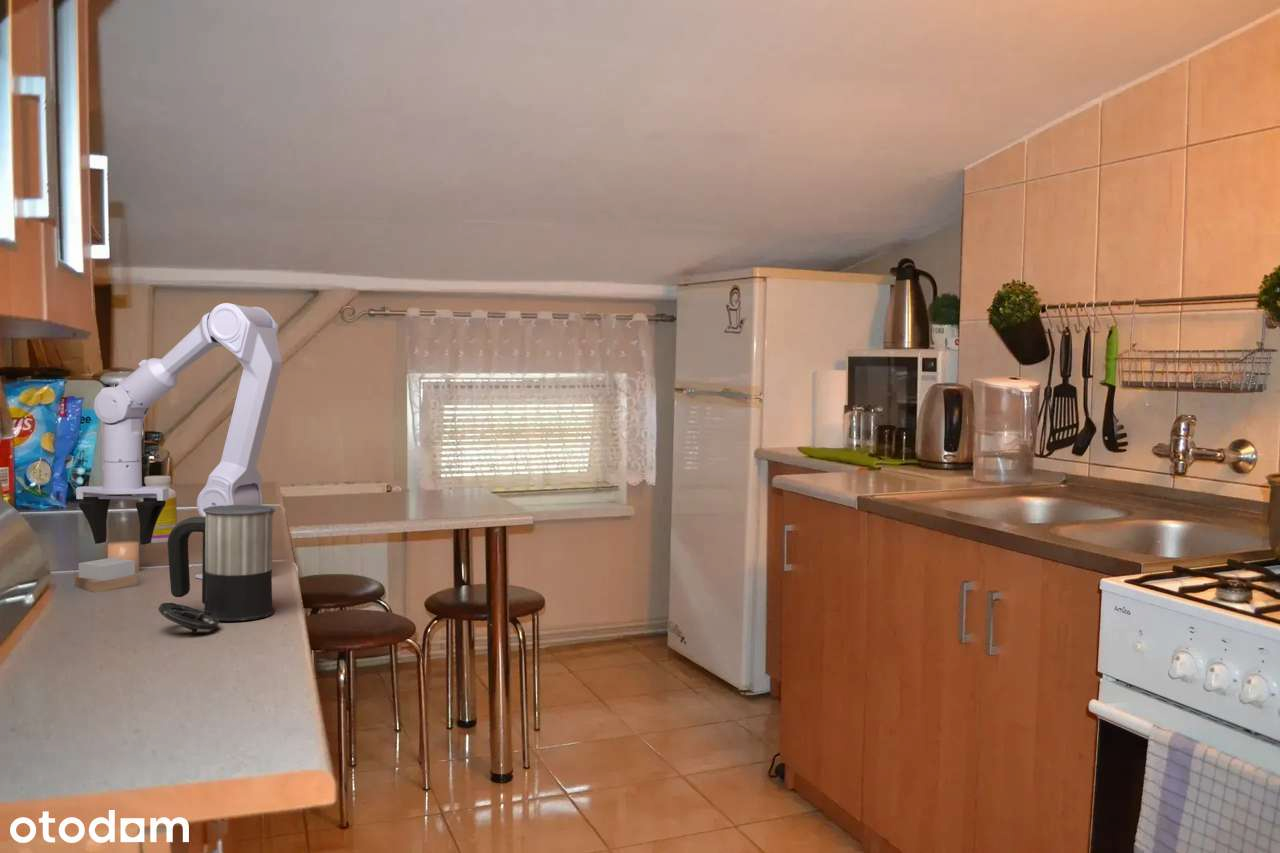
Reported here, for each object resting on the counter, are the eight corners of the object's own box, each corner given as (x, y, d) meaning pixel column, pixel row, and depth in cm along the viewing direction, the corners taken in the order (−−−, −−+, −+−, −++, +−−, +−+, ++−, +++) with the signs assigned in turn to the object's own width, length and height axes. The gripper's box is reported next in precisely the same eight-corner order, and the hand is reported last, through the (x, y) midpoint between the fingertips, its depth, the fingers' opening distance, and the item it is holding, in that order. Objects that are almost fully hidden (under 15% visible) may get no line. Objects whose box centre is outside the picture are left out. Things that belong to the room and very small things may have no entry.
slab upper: (134, 574, 160) (134, 560, 159) (102, 581, 155) (102, 566, 155) (111, 571, 162) (111, 557, 162) (78, 577, 157) (78, 563, 157)
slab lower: (137, 589, 159) (137, 575, 159) (94, 596, 154) (94, 582, 154) (117, 584, 163) (117, 570, 163) (74, 591, 158) (74, 576, 158)
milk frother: (274, 605, 147) (274, 502, 146) (277, 631, 132) (277, 516, 131) (165, 612, 142) (164, 505, 141) (156, 640, 127) (154, 520, 126)
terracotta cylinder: (144, 573, 170) (144, 542, 170) (116, 577, 166) (115, 546, 166) (130, 569, 173) (130, 540, 172) (102, 573, 169) (102, 543, 169)
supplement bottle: (184, 541, 203) (183, 476, 202) (152, 545, 197) (152, 478, 196) (163, 538, 206) (163, 474, 206) (132, 542, 201) (131, 476, 200)
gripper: (177, 459, 172) (178, 540, 173) (93, 458, 173) (94, 538, 173) (156, 463, 165) (156, 547, 166) (68, 461, 166) (69, 545, 166)
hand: (123, 543), depth 169 cm, fingers open, 7 cm apart
